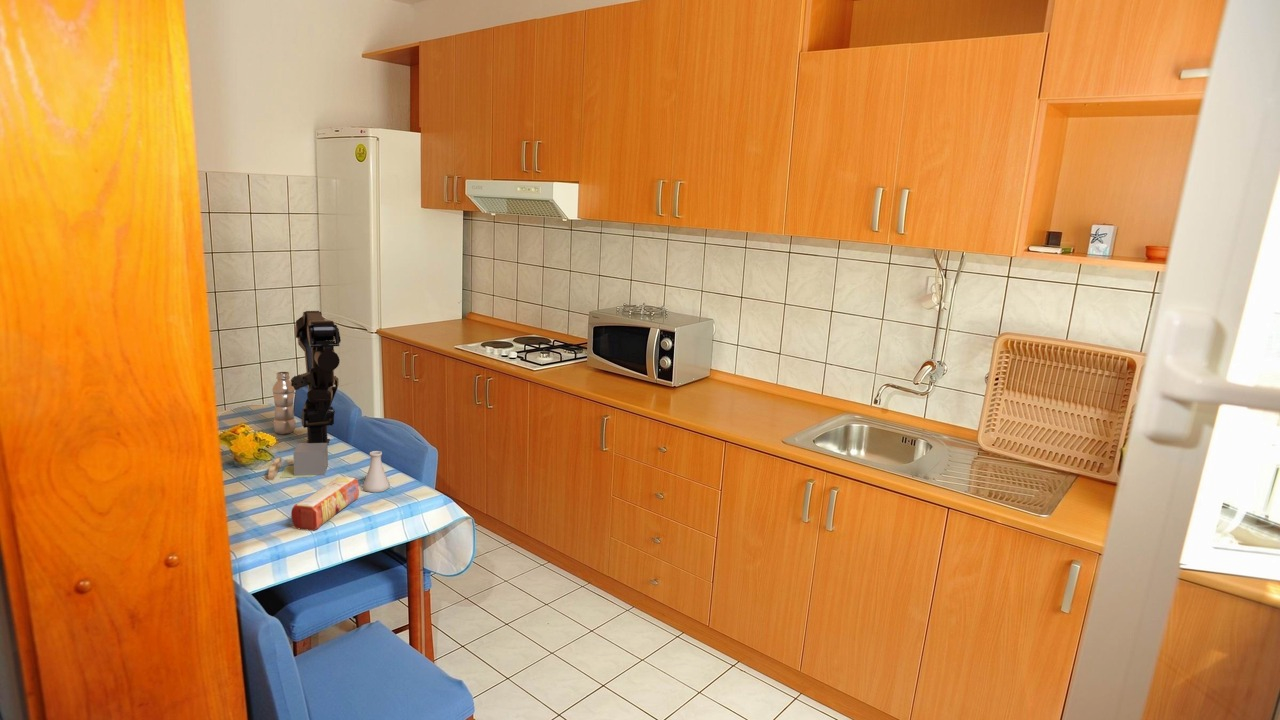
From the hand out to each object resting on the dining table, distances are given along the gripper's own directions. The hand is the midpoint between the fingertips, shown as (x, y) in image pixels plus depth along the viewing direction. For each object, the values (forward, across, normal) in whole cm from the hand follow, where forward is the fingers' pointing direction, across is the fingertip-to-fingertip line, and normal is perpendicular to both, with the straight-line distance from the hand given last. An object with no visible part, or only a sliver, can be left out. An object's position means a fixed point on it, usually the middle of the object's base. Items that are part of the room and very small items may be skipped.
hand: (324, 415), depth 214 cm
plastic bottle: (+13, -27, -16) cm, 34 cm away
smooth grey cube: (+13, +11, -2) cm, 17 cm away
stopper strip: (+13, +11, -12) cm, 20 cm away
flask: (+13, +26, +16) cm, 33 cm away
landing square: (+13, +11, -5) cm, 18 cm away
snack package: (+14, +42, +6) cm, 44 cm away
